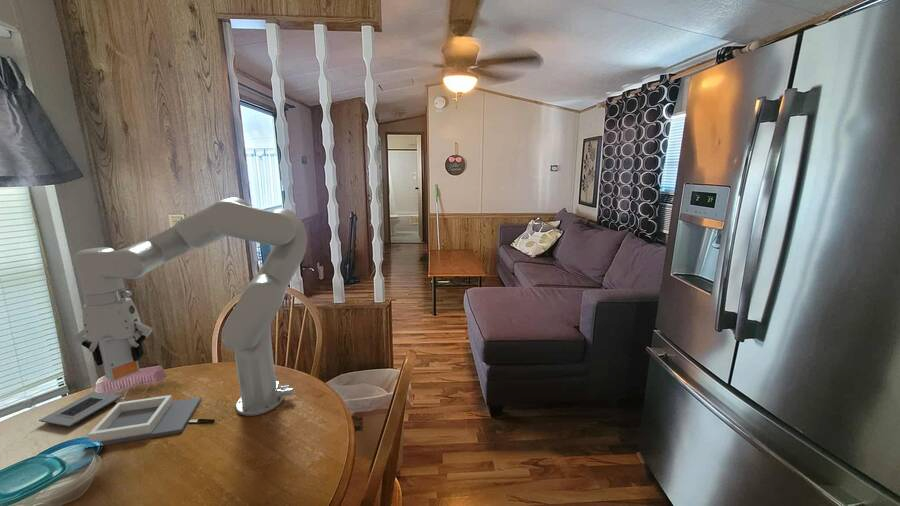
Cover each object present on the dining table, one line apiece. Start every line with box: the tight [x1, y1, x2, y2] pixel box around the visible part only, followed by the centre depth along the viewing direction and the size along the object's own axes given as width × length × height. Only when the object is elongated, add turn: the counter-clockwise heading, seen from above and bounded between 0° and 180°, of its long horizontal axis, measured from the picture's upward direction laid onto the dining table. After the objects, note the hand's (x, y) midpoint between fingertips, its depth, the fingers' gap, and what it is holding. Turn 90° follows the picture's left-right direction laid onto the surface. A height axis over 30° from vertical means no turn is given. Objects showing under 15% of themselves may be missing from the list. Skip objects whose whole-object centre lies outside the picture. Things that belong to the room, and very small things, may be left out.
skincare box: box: [98, 337, 141, 383], centre depth 93 cm, size 6×4×12 cm
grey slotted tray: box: [38, 391, 123, 427], centre depth 103 cm, size 13×10×2 cm
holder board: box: [87, 394, 202, 446], centre depth 99 cm, size 21×14×4 cm, turn 106°
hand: (120, 360), depth 94 cm, fingers closed on skincare box, 7 cm apart
